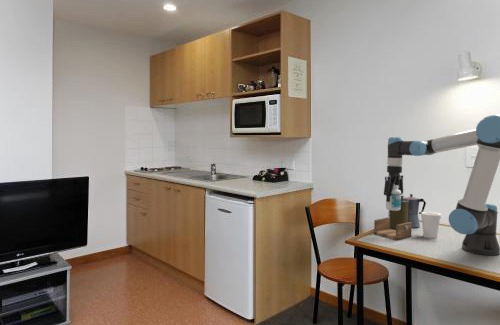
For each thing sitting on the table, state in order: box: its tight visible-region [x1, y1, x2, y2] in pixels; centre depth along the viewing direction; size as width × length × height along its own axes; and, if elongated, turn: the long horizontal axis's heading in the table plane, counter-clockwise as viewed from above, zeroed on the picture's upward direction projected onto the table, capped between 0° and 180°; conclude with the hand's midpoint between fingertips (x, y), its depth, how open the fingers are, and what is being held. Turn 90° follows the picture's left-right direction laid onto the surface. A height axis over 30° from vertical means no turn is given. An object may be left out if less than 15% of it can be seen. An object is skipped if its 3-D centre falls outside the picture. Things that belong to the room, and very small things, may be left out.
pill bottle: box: [385, 185, 402, 211], centre depth 186 cm, size 8×7×14 cm
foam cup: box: [420, 211, 442, 239], centre depth 185 cm, size 10×9×13 cm
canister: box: [388, 195, 409, 230], centre depth 202 cm, size 11×10×20 cm
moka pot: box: [403, 193, 427, 229], centre depth 207 cm, size 10×15×20 cm, turn 40°
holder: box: [373, 216, 413, 241], centre depth 188 cm, size 17×12×8 cm
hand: (393, 206), depth 186 cm, fingers closed on pill bottle, 7 cm apart
